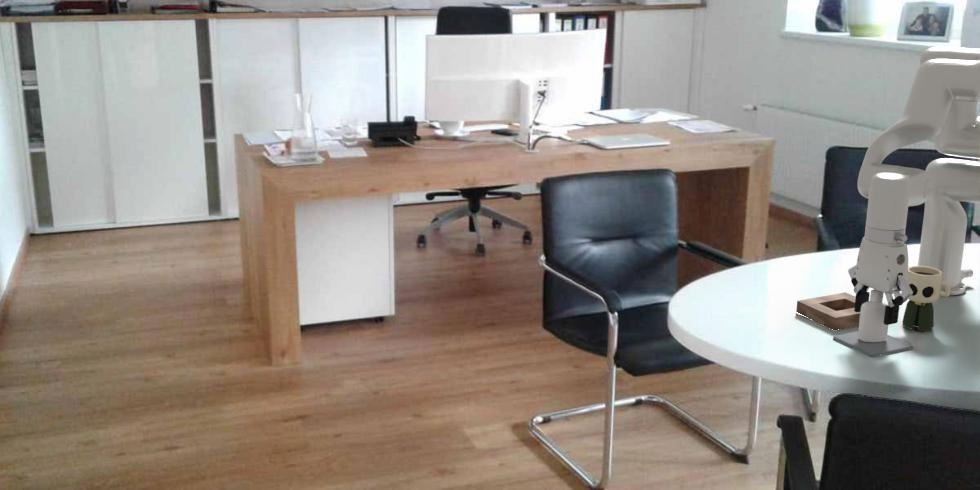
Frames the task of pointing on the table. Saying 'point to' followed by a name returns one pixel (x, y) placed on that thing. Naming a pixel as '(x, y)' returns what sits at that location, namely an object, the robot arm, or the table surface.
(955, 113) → the robot arm
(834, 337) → the slate mat
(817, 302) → the walnut dock
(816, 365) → the table surface
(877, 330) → the eye dropper bottle
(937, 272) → the character mug
